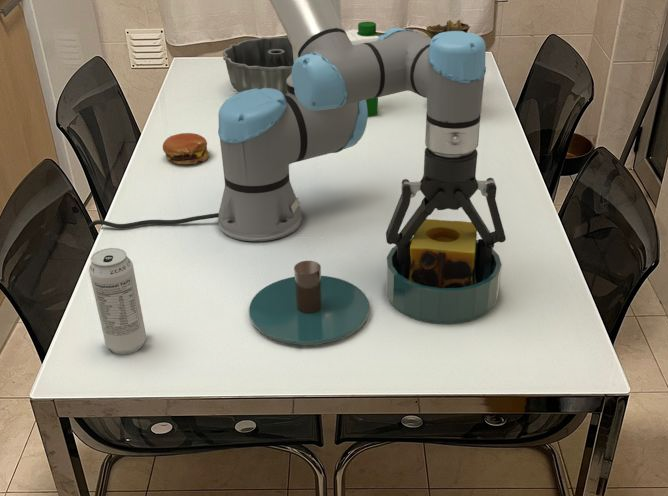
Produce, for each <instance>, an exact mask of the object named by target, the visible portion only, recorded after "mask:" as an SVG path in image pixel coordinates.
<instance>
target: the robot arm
mask: <svg viewBox="0 0 668 496" xmlns="http://www.w3.org/2000/svg"><path fill="white" fill-rule="evenodd" d="M269 2H270V3H271V6H272V8H273V10H274V12H275V14H276V17H277V18H278V20H279V22H280V24H281V26H282V29H283V30H284V32H285V34H286V37H288V38H289V40H290V42H291V44H292V48H293V60H294V64H293V67H292V73H291V75H290V76H289V77H288V78H287V94H286V95H283V93H282V92H280V91H279V90H276V89H272V88H262V89H257V88H256V89H250V90H246V91H243V92H238V93H236V94H233V95H231V96H230V97H228V98H226V99H225V100H224V102H223V103H222V105H221V106H220V107H219V109H218V128H217V129H218V130H217V134H218V137H219V144H220V152H221V153H220V154H221V160H222V171H223V179H224V180H223V181H224V189H223V192H222V196H221V201H220V206H219V210H218V212H215V213H208V214H202V215H201V214H200V215H195V216H189V217H185V218H179V219H178V218H177V219H145V220H138V221H133V222H127V223H116V222H111V221H108V220H103V219H96V220H93V221H91V222H90V223H89V224H88V225H87V227H86V228H87V229H92V228H94V227H95V226H97V225H102V226H106V227H110V228H114V229H127V228H128V229H129V228H134V227H140V226H146V225H178V224H186V223H191V222H196V221H197V222H198V221H202V220H209V219H217V218H218V227H219V229H220V230H221V232H222V233H223V234H224V235H226V236H228V237H230V238H232V239H235V240H239V241H244V242H267V241H268V242H269V241H274V240H277V239H282V238H284V237H286V236H289V235H291V234H292V233H294V232H295V231H297V230H298V229H299V228H300V226H301V225H302V210H301V206H300V204H301V203H300V200H299V198H298V197H297V196H296V194H295V191H294V189H293V186H292V184H291V180H290V165H292V164H294V163H299V162H302V161H307V160H309V159H314V158H318V157H321V156H326V155H331V154H336V153H340V152H341V151H343V150H347V149H349V148H352V147H354V146H356V144H358V143H359V141H360V140H361V139H362V138H363V136H364V134H365V132H366V128H367V124H368V117H369V116H368V111H367V103H366V100H367V99H373V98H378V99H379V98H382V97H385V96H389V95H394V94H395V95H396V94H398V93H402V92H411V93H414V94H416V95H418V96H420V97H423V98H426V115H425V117H426V118H425V134H424V135H425V136H424V144H425V149H424V155H423V156H424V157H423V158H424V159H423V176H422V178H421V179H420V181H410V180H409V179H407V178H404V179H402V181H401V194H400V196H399V199H398V200H397V204H396V206H395V209H394V211H393V214H392V216H391V218H390V221H389V224H388V226H387V229H386V231H385V238H386V239H385V240H386V241H385V242H386V243H387V244H388V245H394V246H396V245H397V262H398V264H404V273H403V277H404V278H406V279H408V280H409V274H410V269H409V268H410V239H411V238H412V237H413V236H414V234H415V233H416V231H417V230H418V229H419V227H420V226H421V225H422V223H423V222H424V221H425V219H428V217H429V216H431V215H432V214H433V212H434V211H435V210H437V211H445V210H453V211H459V209H462V211H463V212H464V213H465V215H466V216H467V217H468V219H469V220H470V222H472V224H473V225H474V227H475V228H476V230H477V234H478V235H479V237H480V238H478V239H477V240H478V249H477V259H476V270H475V277H476V281H477V283H479V282H481V281H482V279H483V269H484V263H490V261H491V256H492V249H494V247H495V244H497V243H505V242H506V240H507V238H506V233H505V230H504V226H503V222H502V219H501V215H500V211H499V208H498V204H497V200H496V197H497V187H498V186H497V184H496V181H495V179H494V178H493V177H488V178H487V179H486V180H478V179H477V176H476V174H477V165H478V164H477V163H478V150H477V149H478V146H479V141H480V139H479V137H480V125H481V116H482V107H483V105H482V104H483V95H484V83H485V76H486V72H487V66H486V57H487V56H486V53H487V50H486V48H487V47H486V46H487V45H486V42H485V40H484V39H483V37H482V36H480V35H479V34H477V33H474V32H467V33H466V32H463V31H448V32H443V33H439V34H437V35H435V36H434V37H433V38H432V37H431V38H430V37H428V36H426V35H423V34H421V33H419V32H418V31H415V30H413V29H408V28H403V27H392V28H389V29H387V30H386V31H385V32H383V33H382V34H381V35H379V38H378V39H377V40H376V41H373V42H368V43H362V44H358V45H352V43H351V41H350V39H349V38H348V36H347V34H346V30H345V28H344V26H343V23H342V9H341V0H269ZM478 190H479V191H480V194H481V196H483V197H485V200H486V204H487V207H488V210H489V213H490V217H491V218H490V219H491V221H492V225H493V228H494V231H490V230H489V228H488V227H487V225H486V224H485V222H484V220H483V219H482V217H481V215H480V213H479V212H478V210H477V209H476V207H475V205H474V204H473V202H472V200H471V198H472V197H473V195H475V194H476V192H477V191H478ZM418 192H421V193H422V195H423V196H424V198H422V200H421V203H420V205H419V206H418V207H417V208H416V210H415V211H414V212H413V214H412V215H411V216H410V218H409V219H408V220H407V222H406V224H405V225H404V226H403V227H402V229H400V228H401V226H402V224H403V222H404V218H405V216H406V214H407V212H408V209H409V208H410V204H411V199H412V198H414V197H416V195H417V193H418ZM399 231H400V232H399Z"/></svg>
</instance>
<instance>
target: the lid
mask: <svg viewBox="0 0 668 496" xmlns="http://www.w3.org/2000/svg"><path fill="white" fill-rule="evenodd" d="M293 268H294V269H293V273H294V276H291V277H287V278H283V279H279V280H277V281H273V282H272V283H270V284H268V285H266V286H264V287H263V288H261V289H260V290H259V291H258V292H257V293H256V294H255V295H254V296H253V297H252V299H251V301H250V304H249V308H248V313H249V315H248V316H249V320H250V322H251V324H252V325H253V326H254V328H255V329H256V330H257V331H259V332H260V333H261V334H263V335H264V336H266V337H268V338H270V339H272V340H275V341H278V342H282V343H287V344H291V345H301V346H306V345H307V346H309V345H311V346H312V345H320V344H327V343H332V342H335V341H338V340H341V339H344V338H346V337H348V336H350V335H352V334H354V333H355V332H356V331H358V330H359V329H360V328H361V327H362V326H363V325H364V324H365V323H366V321H367V319H368V317H369V314H370V303H369V302H370V301H369V298H368V297H367V295H366V294H365V293H364V292H363V290H361V289H360V288H359V287H358V286H356V285H354V284H353V283H351V282H349V281H347V280H344V279H341V278H338V277H333V276H328V275H322V266H321V264H320V263H319V262H317V261H313V260H302V261H299V262H297V263H296V264H294V267H293Z"/></svg>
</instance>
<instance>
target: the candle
mask: <svg viewBox="0 0 668 496" xmlns="http://www.w3.org/2000/svg"><path fill="white" fill-rule="evenodd" d="M477 236H478V231H477V230H476V228H475V227H474V225H473V224H472V222H471V221H463V220H444V219H433V218H432V219H430V218H426V219H425V221H424V222H423V223H422V225H421V226H420V227H419V229H418V230H417V231H416V233H415V234H414V235H413V240H412V242H411V245H410V256H411V266H410V268H409V269H410V274H409V281H412V282H415V283H417V284H420V285H423V286H429V287H435V288H461V287H466V286H471V285H474V279H475V267H476V247H477V244H476V240H477Z"/></svg>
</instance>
